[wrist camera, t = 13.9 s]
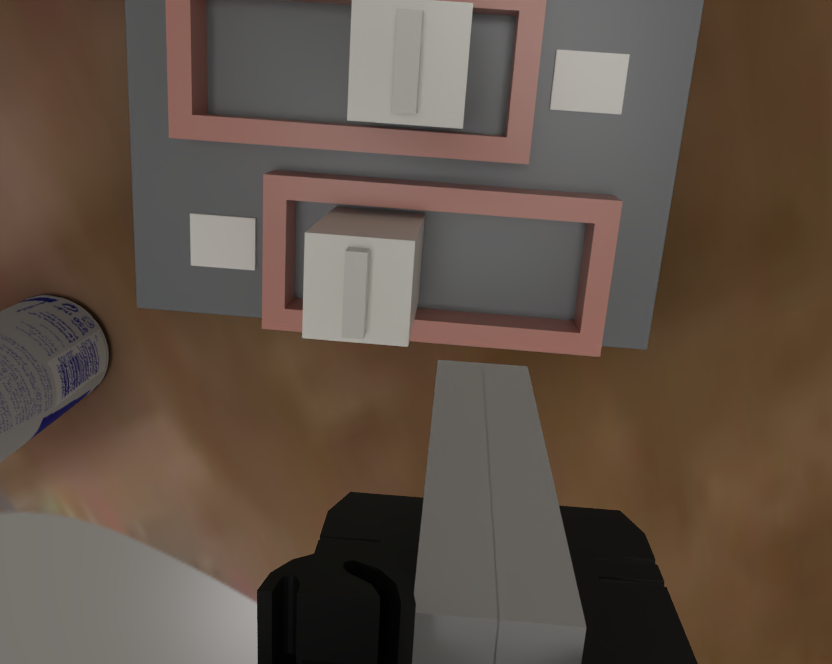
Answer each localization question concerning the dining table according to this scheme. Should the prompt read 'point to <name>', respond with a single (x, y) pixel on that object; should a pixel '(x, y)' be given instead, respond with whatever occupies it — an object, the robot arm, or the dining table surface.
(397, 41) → the tab inner
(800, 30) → the dining table surface
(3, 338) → the beverage can
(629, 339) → the switch bank
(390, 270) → the block
